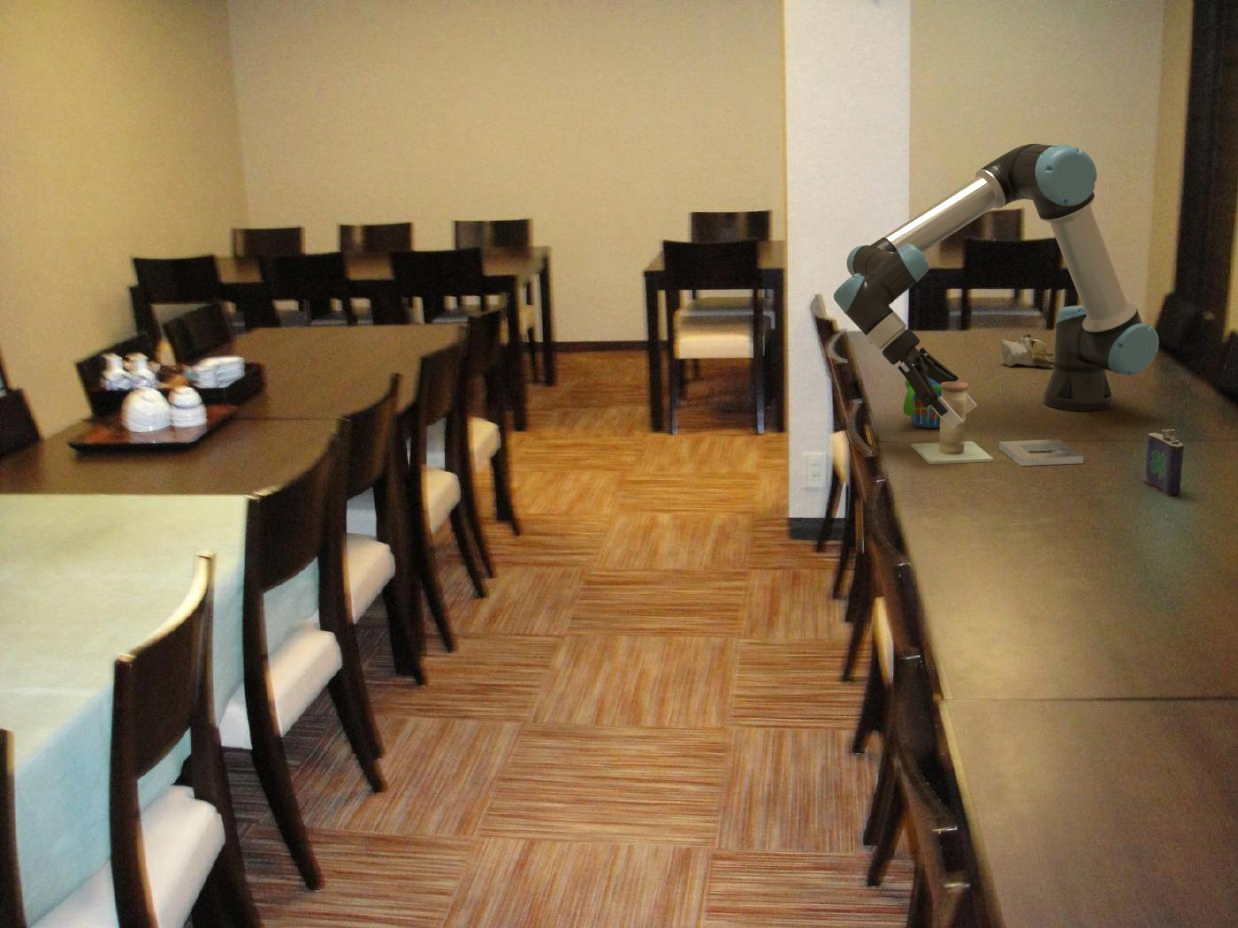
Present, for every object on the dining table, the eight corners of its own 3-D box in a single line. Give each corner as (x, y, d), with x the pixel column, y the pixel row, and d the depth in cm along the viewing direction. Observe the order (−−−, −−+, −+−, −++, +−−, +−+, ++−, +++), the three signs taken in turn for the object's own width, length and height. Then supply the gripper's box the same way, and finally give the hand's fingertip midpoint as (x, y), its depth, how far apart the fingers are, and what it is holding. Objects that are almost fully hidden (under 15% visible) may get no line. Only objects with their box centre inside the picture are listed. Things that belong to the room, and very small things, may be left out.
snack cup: (935, 414, 294) (937, 371, 291) (971, 423, 285) (973, 379, 282) (886, 425, 286) (887, 381, 283) (921, 435, 277) (923, 389, 274)
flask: (1140, 481, 243) (1146, 422, 239) (1155, 480, 243) (1161, 421, 240) (1169, 497, 233) (1175, 436, 230) (1185, 496, 234) (1192, 435, 230)
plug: (960, 446, 266) (963, 380, 262) (968, 454, 261) (971, 386, 257) (934, 447, 266) (937, 382, 262) (942, 455, 260) (945, 388, 256)
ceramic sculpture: (998, 329, 343) (1056, 332, 341) (994, 360, 346) (1051, 364, 344) (1005, 337, 333) (1064, 340, 331) (1001, 370, 335) (1060, 373, 334)
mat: (972, 444, 270) (972, 441, 270) (993, 461, 257) (993, 458, 257) (911, 446, 269) (911, 443, 269) (929, 464, 257) (929, 461, 257)
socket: (1058, 446, 267) (1058, 439, 266) (1082, 463, 255) (1083, 456, 254) (998, 448, 266) (999, 441, 266) (1020, 466, 254) (1021, 458, 254)
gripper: (896, 340, 275) (964, 414, 273) (863, 363, 254) (936, 444, 251) (922, 317, 271) (991, 392, 269) (891, 338, 250) (965, 420, 247)
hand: (964, 417), depth 260 cm, fingers open, 13 cm apart
